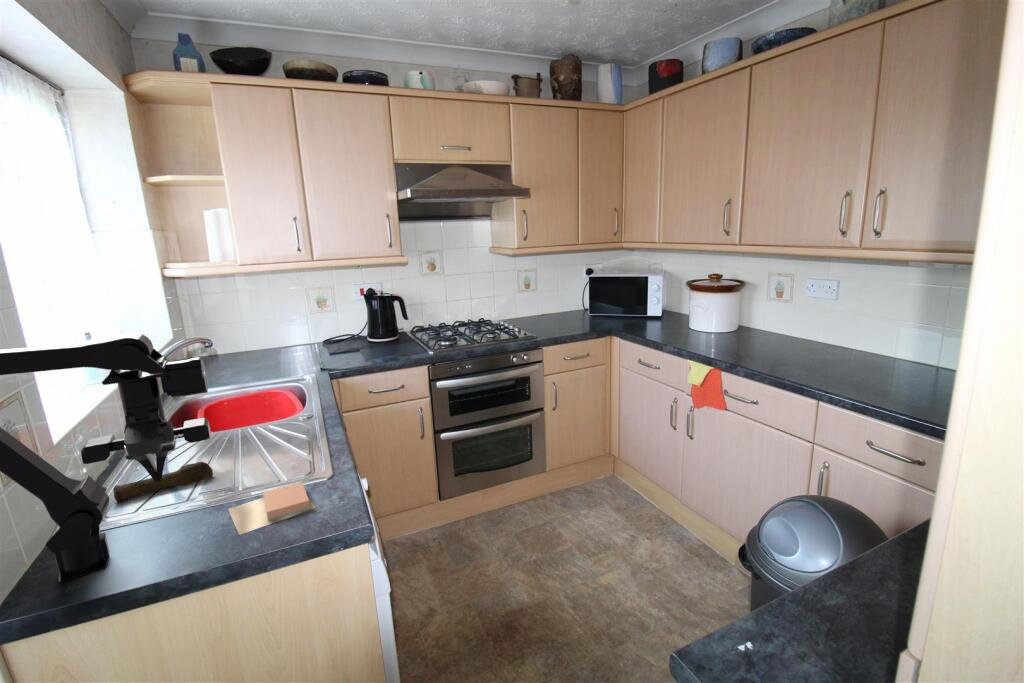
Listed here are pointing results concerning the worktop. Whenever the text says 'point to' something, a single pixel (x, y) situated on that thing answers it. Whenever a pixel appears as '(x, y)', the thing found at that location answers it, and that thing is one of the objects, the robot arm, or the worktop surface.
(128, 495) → the brown wooden rod
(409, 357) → the worktop surface
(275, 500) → the terracotta tile
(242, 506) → the beech board
